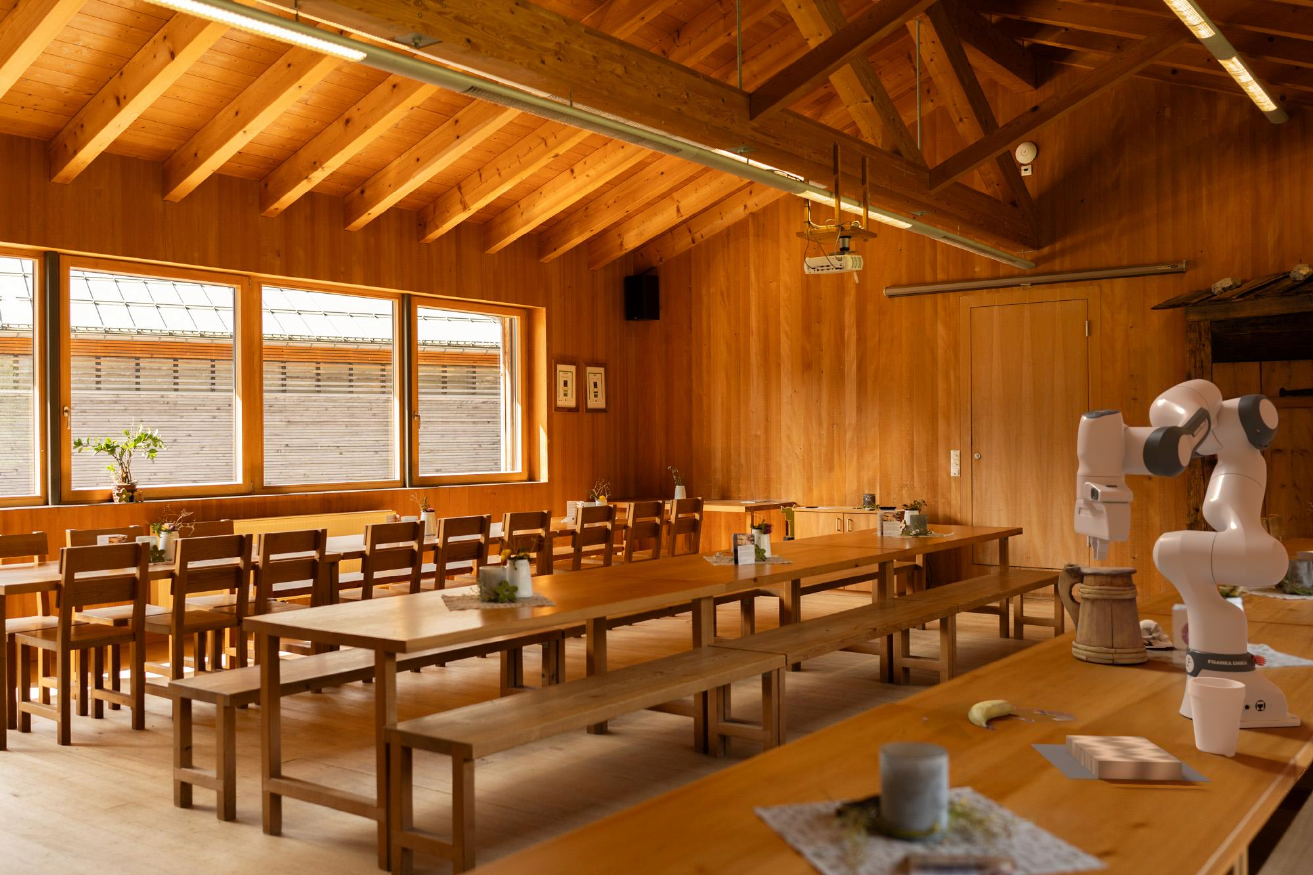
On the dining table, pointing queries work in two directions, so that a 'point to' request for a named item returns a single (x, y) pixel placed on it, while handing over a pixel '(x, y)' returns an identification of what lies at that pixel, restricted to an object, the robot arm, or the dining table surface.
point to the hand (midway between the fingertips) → (1099, 560)
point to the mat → (1078, 771)
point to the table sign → (1123, 757)
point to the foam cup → (1216, 713)
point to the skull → (1153, 634)
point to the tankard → (1103, 613)
